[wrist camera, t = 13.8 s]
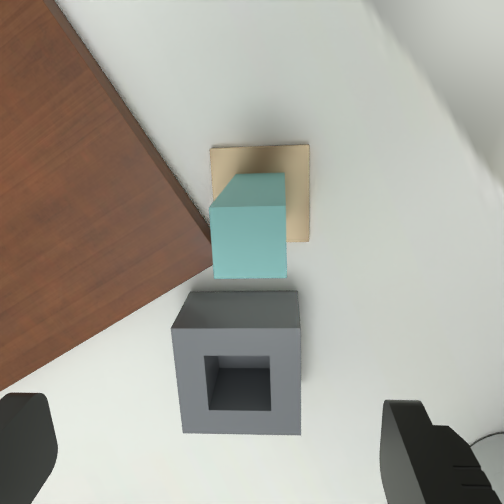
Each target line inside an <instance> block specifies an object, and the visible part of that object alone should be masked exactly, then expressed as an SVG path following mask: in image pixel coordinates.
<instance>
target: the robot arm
mask: <svg viewBox="0 0 504 504" xmlns="http://www.w3.org/2000/svg"><path fill="white" fill-rule="evenodd" d="M57 453H58V445H57V439H56V435H55V431H54V426H53V422H52V418H51V413H50V409H49V404H48V401H47V398H46V396H45V395H44V394H42V393H8V394H6V395H5V396H4V397H3V398H2V399H1V400H0V504H31V503H32V501H33V500H34V498H35V497H36V495H37V494H38V492H39V491H40V489H41V487H42V486H43V484H44V483H45V481H46V480H47V478H48V477H49V475H50V474H51V472H52V470H53V468H54V465H55V462H56V459H57ZM380 472H381V479H382V484H383V488H384V492H385V495H386V499H387V503H388V504H504V433H503V434H496V435H493V436H490V437H487V438H485V439H483V440H481V441H479V442H477V443H476V444H474V445H473V446H472V447H470V446H469V444H468V443H467V442H466V441H465V440H463V439H462V438H461V437H460V436H459V435H458V434H457V433H456V432H455V431H454V430H452V429H451V428H450V427H449V426H438V425H432V422H431V420H430V418H429V416H428V414H427V412H426V410H425V408H424V406H423V404H422V403H421V401H419V400H385V401H384V404H383V414H382V428H381V441H380Z"/></svg>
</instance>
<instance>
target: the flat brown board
mask: <svg viewBox="0 0 504 504" xmlns="http://www.w3.org/2000/svg"><path fill="white" fill-rule="evenodd" d="M212 265H213V257H212V243H211V229H210V227H209V226H208V225H207V223H206V222H205V220H204V219H203V217H202V216H201V214H200V213H199V211H198V210H197V208H196V207H195V206H194V204H193V203H192V201H191V200H190V198H189V197H188V195H187V194H186V192H185V191H184V189H183V188H182V187H181V185H180V184H179V182H178V181H177V179H176V178H175V176H174V175H173V173H172V172H171V170H170V169H169V168H168V166H167V165H166V163H165V162H164V160H163V159H162V157H161V156H160V154H159V153H158V151H157V150H156V149H155V147H154V146H153V144H152V143H151V141H150V140H149V138H148V137H147V135H146V134H145V132H144V131H143V130H142V128H141V127H140V125H139V124H138V122H137V121H136V119H135V118H134V116H133V115H132V113H131V112H130V110H129V109H128V108H127V106H126V105H125V103H124V102H123V100H122V99H121V97H120V96H119V94H118V93H117V91H116V90H115V89H114V87H113V86H112V84H111V83H110V81H109V80H108V78H107V77H106V75H105V74H104V72H103V71H102V70H101V68H100V67H99V65H98V64H97V62H96V61H95V59H94V58H93V56H92V55H91V53H90V52H89V51H88V49H87V48H86V46H85V45H84V43H83V42H82V40H81V39H80V37H79V36H78V34H77V33H76V32H75V30H74V29H73V27H72V26H71V24H70V23H69V21H68V20H67V18H66V17H65V15H64V14H63V13H62V11H61V10H60V8H59V7H58V5H57V4H56V2H55V1H54V0H0V391H2V390H4V389H5V388H7V387H9V386H10V385H12V384H14V383H16V382H17V381H19V380H21V379H22V378H24V377H26V376H27V375H29V374H31V373H32V372H34V371H36V370H37V369H39V368H41V367H42V366H44V365H46V364H47V363H49V362H51V361H52V360H54V359H56V358H57V357H59V356H61V355H62V354H64V353H66V352H68V351H69V350H71V349H73V348H74V347H76V346H78V345H79V344H81V343H83V342H84V341H86V340H88V339H89V338H91V337H93V336H94V335H96V334H98V333H99V332H101V331H103V330H104V329H106V328H108V327H109V326H111V325H113V324H114V323H116V322H118V321H119V320H121V319H123V318H125V317H126V316H128V315H130V314H131V313H133V312H135V311H136V310H138V309H140V308H141V307H143V306H145V305H146V304H148V303H150V302H151V301H153V300H155V299H156V298H158V297H160V296H161V295H163V294H165V293H166V292H168V291H170V290H171V289H173V288H175V287H176V286H178V285H180V284H182V283H183V282H185V281H187V280H188V279H190V278H192V277H193V276H195V275H197V274H198V273H200V272H202V271H203V270H205V269H207V268H208V267H210V266H212Z"/></svg>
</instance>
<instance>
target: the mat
mask: <svg viewBox="0 0 504 504" xmlns="http://www.w3.org/2000/svg"><path fill="white" fill-rule="evenodd" d="M210 160H211V174H212V188H213V202H214V201H215V199H216V198H217V197H218V196H219V194H220V193H221V192H222V191H223V189H224V188H225V187H226V186H227V184H228V183H229V182H230V181H231V179H232V178H233V177H234V176H235V174H251V173H284V172H285V196H286V242H309V144H308V145H281V146H255V147H228V148H211V149H210Z"/></svg>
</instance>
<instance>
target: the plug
mask: <svg viewBox="0 0 504 504" xmlns="http://www.w3.org/2000/svg"><path fill="white" fill-rule="evenodd" d="M209 216H210V229H211V243H212V257H213V271H214V279H240V278H287V255H286V196H285V172H284V173H251V174H235V176H234V177H233V178H232V179H231V181H230V182H229V183H228V184H227V186H226V187H225V188H224V189H223V191H222V192H221V193H220V194H219V196H218V197H217V198H216V199H215V201H214V202H213V203H212V204H211V206H210V207H209Z"/></svg>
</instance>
